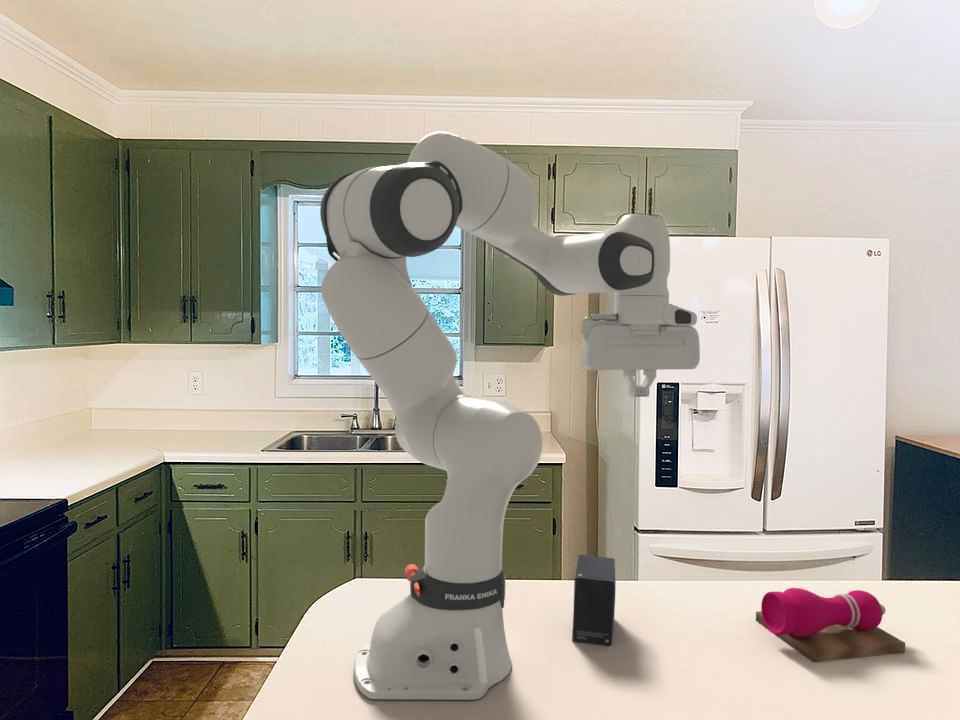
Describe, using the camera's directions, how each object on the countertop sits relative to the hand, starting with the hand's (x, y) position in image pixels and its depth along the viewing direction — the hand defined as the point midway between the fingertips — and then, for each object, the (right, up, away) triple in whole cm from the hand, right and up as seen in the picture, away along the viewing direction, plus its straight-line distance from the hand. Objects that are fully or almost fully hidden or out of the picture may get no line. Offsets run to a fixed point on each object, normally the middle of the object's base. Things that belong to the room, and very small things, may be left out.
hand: (638, 396), depth 114 cm
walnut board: (+29, -38, -5) cm, 48 cm away
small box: (-8, -38, -4) cm, 39 cm away
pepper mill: (+18, -33, -9) cm, 39 cm away
